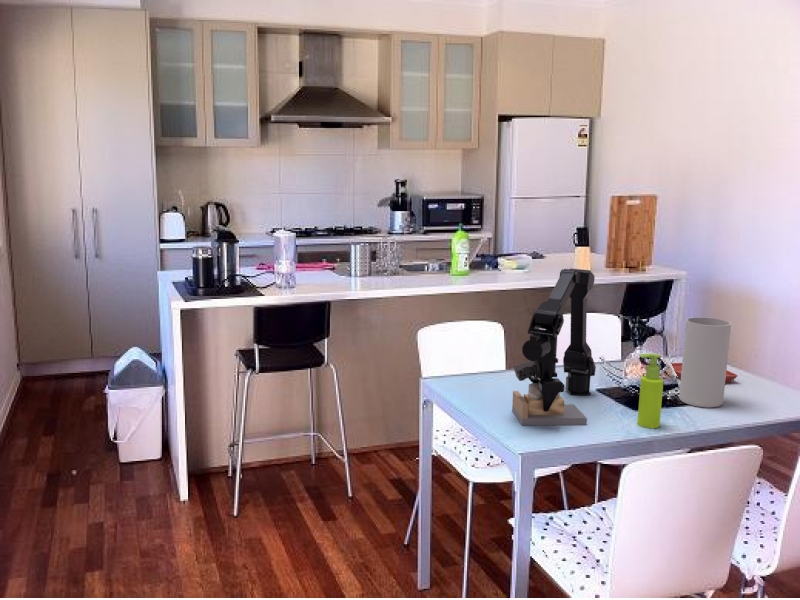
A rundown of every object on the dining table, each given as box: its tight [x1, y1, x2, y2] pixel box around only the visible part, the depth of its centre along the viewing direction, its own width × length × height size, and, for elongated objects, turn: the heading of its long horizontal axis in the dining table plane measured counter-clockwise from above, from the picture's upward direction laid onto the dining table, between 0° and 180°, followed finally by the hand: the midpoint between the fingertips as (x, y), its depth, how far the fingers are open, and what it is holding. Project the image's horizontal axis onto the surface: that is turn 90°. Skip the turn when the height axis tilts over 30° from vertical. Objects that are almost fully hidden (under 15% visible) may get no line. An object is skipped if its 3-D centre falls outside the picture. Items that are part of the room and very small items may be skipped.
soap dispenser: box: [637, 353, 664, 429], centre depth 212 cm, size 6×7×20 cm
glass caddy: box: [523, 382, 565, 415], centre depth 217 cm, size 10×6×8 cm, turn 95°
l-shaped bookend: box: [511, 390, 588, 426], centre depth 217 cm, size 18×12×6 cm, turn 95°
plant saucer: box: [671, 362, 738, 384], centre depth 263 cm, size 18×18×3 cm
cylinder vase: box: [678, 316, 732, 409], centre depth 233 cm, size 12×12×25 cm
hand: (542, 407), depth 217 cm, fingers closed on glass caddy, 6 cm apart
